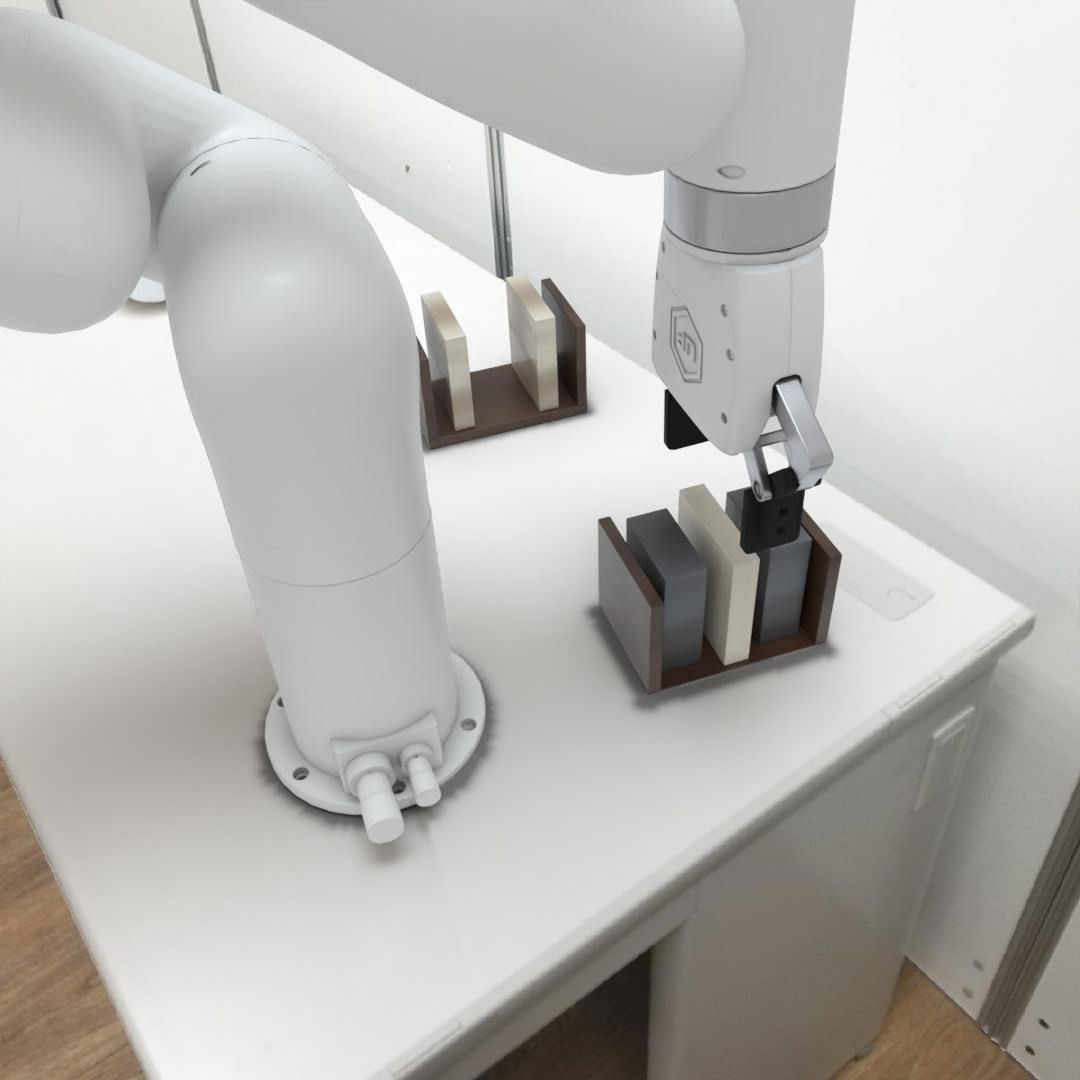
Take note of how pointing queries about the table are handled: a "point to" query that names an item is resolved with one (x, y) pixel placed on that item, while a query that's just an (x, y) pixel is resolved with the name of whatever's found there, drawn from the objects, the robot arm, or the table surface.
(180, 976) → the table surface
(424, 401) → the brown book rack
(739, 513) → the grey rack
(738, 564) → the white book
